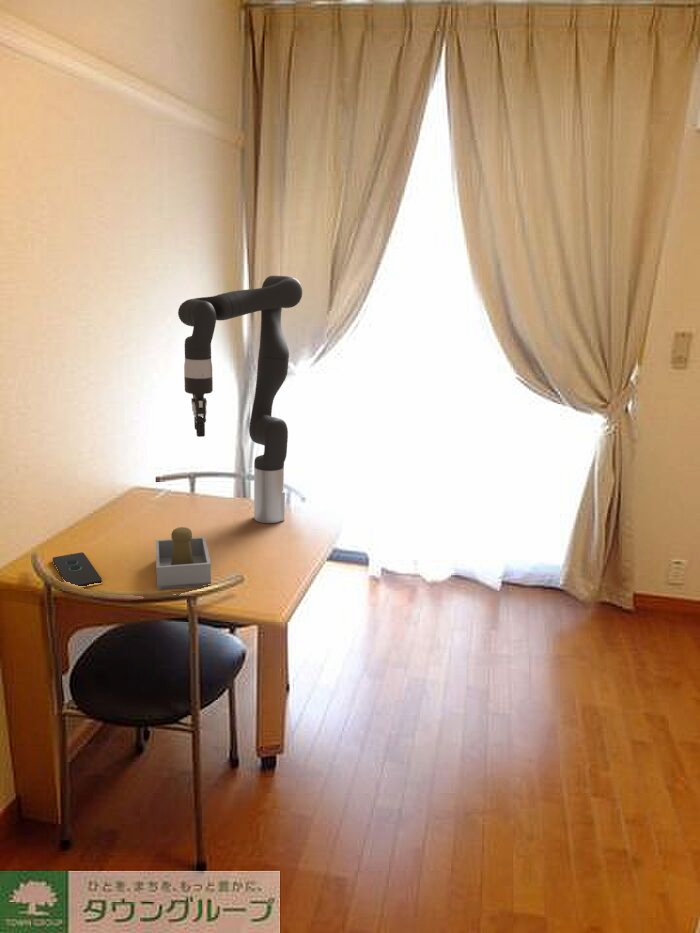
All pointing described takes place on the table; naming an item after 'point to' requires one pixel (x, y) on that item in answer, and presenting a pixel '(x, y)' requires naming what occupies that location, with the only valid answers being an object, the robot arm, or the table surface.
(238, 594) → the table surface
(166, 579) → the box
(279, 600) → the table surface
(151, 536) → the table surface
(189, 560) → the olive pawn
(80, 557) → the smart home device
